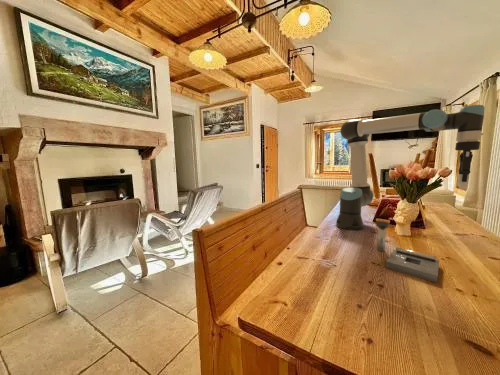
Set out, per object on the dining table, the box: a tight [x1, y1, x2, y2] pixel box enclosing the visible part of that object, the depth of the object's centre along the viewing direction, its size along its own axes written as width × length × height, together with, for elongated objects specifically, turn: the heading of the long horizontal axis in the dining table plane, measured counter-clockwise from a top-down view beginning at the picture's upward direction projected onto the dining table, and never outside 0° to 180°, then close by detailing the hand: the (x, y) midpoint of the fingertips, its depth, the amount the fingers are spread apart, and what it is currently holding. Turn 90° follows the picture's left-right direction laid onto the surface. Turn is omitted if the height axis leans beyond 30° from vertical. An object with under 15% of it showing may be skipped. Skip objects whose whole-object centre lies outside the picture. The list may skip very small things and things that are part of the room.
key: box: [375, 218, 391, 253], centre depth 88 cm, size 5×4×14 cm
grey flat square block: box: [385, 246, 440, 284], centre depth 74 cm, size 14×14×4 cm
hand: (461, 187), depth 94 cm, fingers open, 13 cm apart
